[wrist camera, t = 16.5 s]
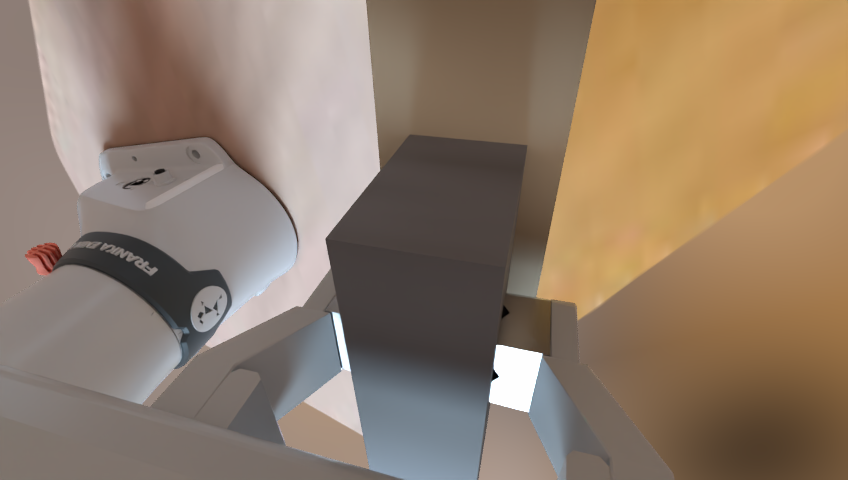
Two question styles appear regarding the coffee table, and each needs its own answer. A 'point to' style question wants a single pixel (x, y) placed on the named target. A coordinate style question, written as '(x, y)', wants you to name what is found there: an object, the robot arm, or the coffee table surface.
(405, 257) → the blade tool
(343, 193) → the coffee table surface
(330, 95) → the coffee table surface
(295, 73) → the coffee table surface
